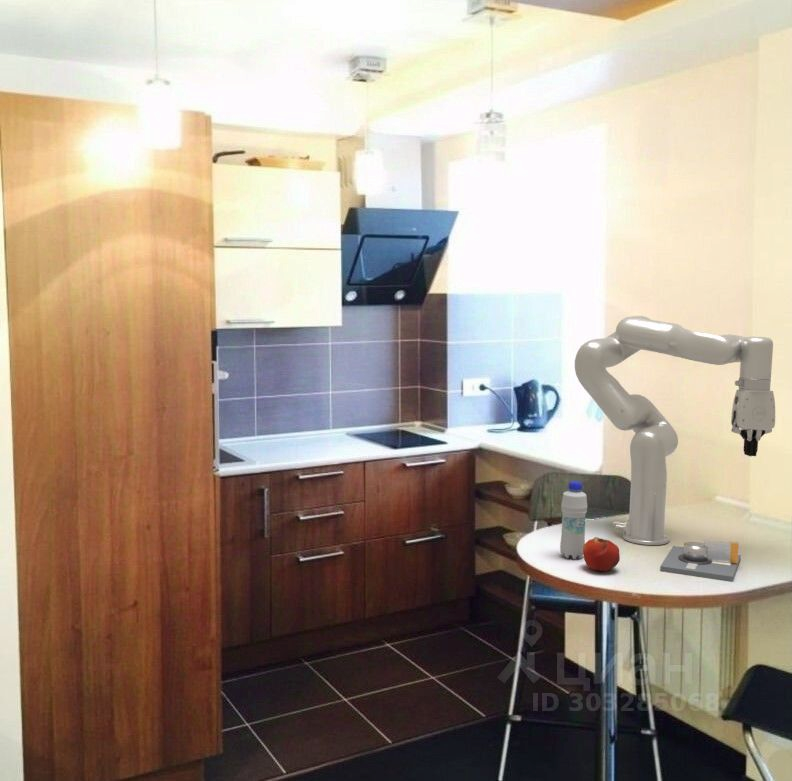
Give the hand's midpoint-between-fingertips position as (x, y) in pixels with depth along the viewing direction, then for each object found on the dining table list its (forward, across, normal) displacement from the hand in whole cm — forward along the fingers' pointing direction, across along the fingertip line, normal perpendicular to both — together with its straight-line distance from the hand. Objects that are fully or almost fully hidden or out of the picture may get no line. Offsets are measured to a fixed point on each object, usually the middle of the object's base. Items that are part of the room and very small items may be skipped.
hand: (750, 455), depth 238 cm
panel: (+27, -15, -6) cm, 31 cm away
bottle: (+27, -45, +5) cm, 53 cm away
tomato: (+27, -42, -6) cm, 51 cm away
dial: (+26, -13, -6) cm, 29 cm away
